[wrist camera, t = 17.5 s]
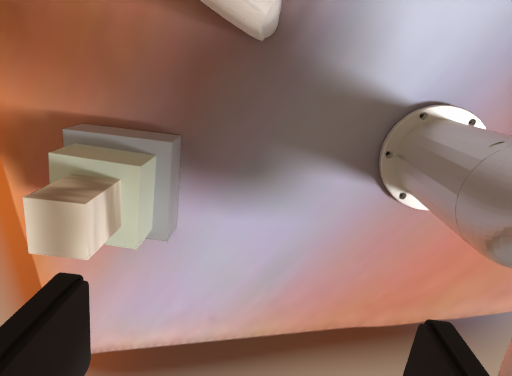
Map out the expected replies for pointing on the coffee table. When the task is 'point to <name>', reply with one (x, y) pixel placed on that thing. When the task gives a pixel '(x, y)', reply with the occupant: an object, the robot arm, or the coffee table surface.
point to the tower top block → (115, 167)
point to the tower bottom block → (146, 143)
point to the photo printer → (249, 15)
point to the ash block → (72, 216)
